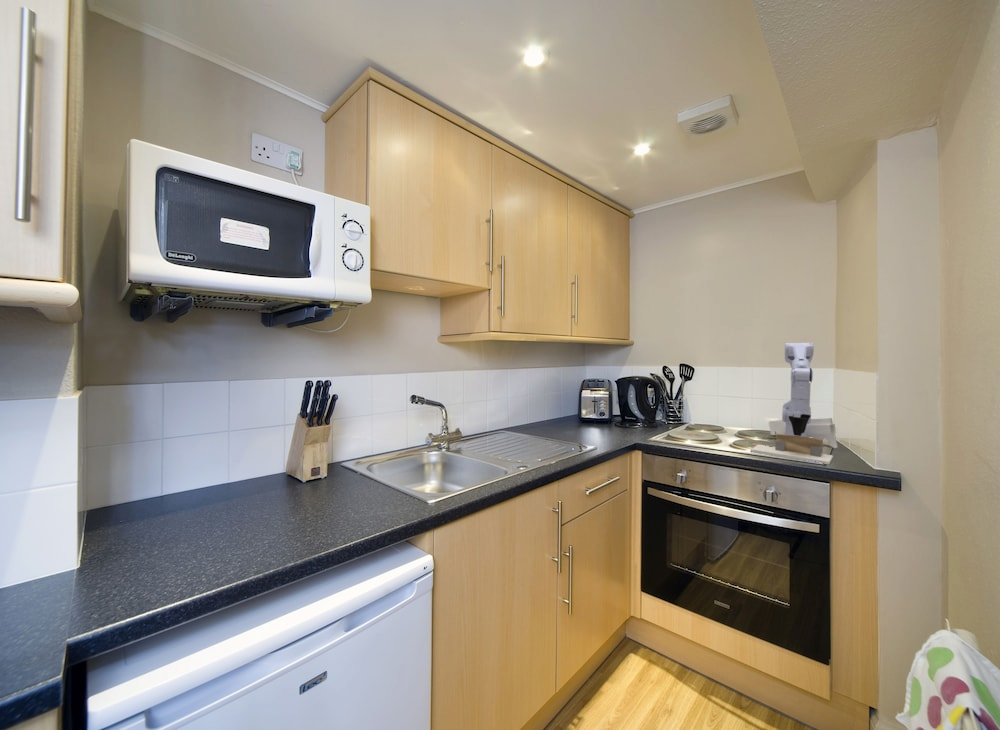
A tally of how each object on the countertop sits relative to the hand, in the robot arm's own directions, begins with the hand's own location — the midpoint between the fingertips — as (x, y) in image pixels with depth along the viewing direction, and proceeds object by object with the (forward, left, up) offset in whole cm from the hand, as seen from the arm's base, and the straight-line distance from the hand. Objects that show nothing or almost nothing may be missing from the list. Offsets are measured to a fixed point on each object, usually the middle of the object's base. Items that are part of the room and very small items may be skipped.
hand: (799, 434), depth 154 cm
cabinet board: (+3, -2, -8) cm, 9 cm away
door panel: (0, 0, -7) cm, 7 cm away
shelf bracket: (-32, -3, -8) cm, 33 cm away
